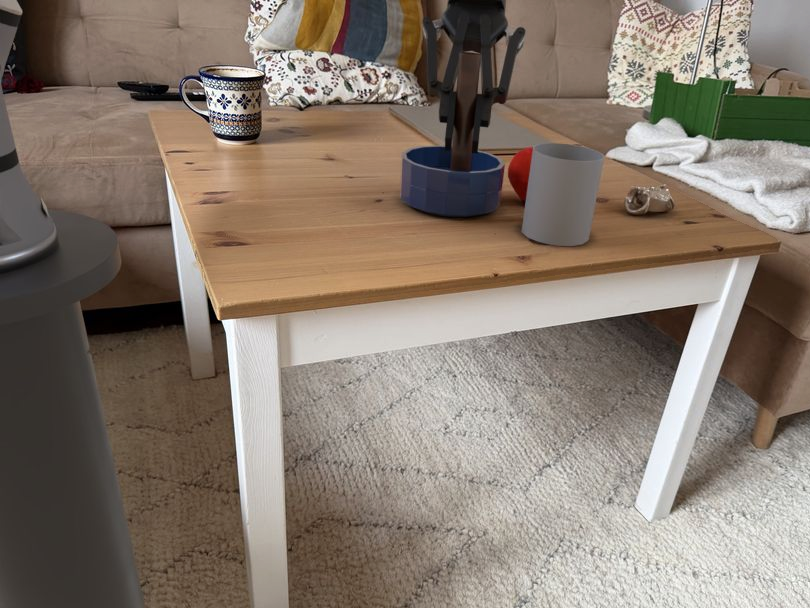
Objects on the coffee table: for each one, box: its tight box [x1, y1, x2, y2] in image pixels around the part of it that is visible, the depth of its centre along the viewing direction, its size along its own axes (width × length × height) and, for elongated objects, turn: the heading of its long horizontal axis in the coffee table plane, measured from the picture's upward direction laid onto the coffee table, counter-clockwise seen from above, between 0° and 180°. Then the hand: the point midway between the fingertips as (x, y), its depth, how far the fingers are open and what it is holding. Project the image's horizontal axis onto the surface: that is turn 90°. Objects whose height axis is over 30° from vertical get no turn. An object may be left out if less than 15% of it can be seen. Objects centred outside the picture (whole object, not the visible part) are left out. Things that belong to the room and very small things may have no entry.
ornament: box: [623, 183, 676, 216], centre depth 94 cm, size 8×7×4 cm
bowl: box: [399, 145, 506, 218], centre depth 88 cm, size 13×13×6 cm
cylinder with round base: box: [450, 51, 481, 172], centre depth 83 cm, size 4×4×16 cm
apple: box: [507, 146, 533, 203], centre depth 92 cm, size 8×8×7 cm
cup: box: [521, 142, 605, 247], centre depth 80 cm, size 8×8×10 cm
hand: (461, 145), depth 81 cm, fingers closed on cylinder with round base, 3 cm apart
